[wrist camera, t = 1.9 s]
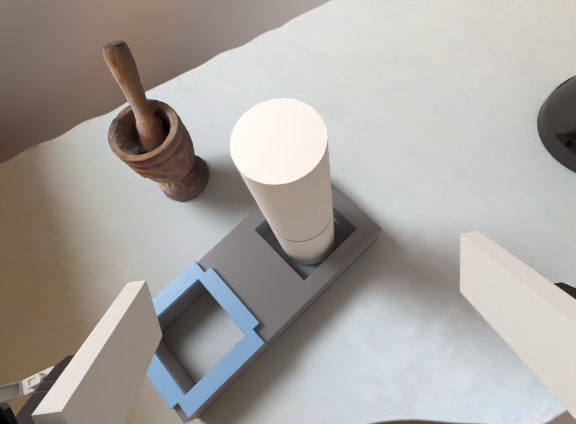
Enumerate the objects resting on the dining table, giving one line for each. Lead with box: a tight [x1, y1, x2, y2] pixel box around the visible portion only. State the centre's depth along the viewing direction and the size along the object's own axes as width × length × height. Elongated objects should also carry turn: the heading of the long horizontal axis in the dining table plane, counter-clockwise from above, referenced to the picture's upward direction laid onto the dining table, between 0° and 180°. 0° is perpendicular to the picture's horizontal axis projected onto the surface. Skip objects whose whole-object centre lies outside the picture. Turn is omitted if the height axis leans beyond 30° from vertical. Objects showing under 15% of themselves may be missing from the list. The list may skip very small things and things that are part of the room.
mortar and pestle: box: [103, 41, 208, 202], centre depth 48 cm, size 12×9×20 cm
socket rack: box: [146, 185, 381, 424], centre depth 47 cm, size 31×13×5 cm, turn 133°
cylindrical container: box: [230, 98, 335, 265], centre depth 39 cm, size 7×7×25 cm
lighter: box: [0, 366, 55, 403], centre depth 45 cm, size 7×2×8 cm, turn 113°
